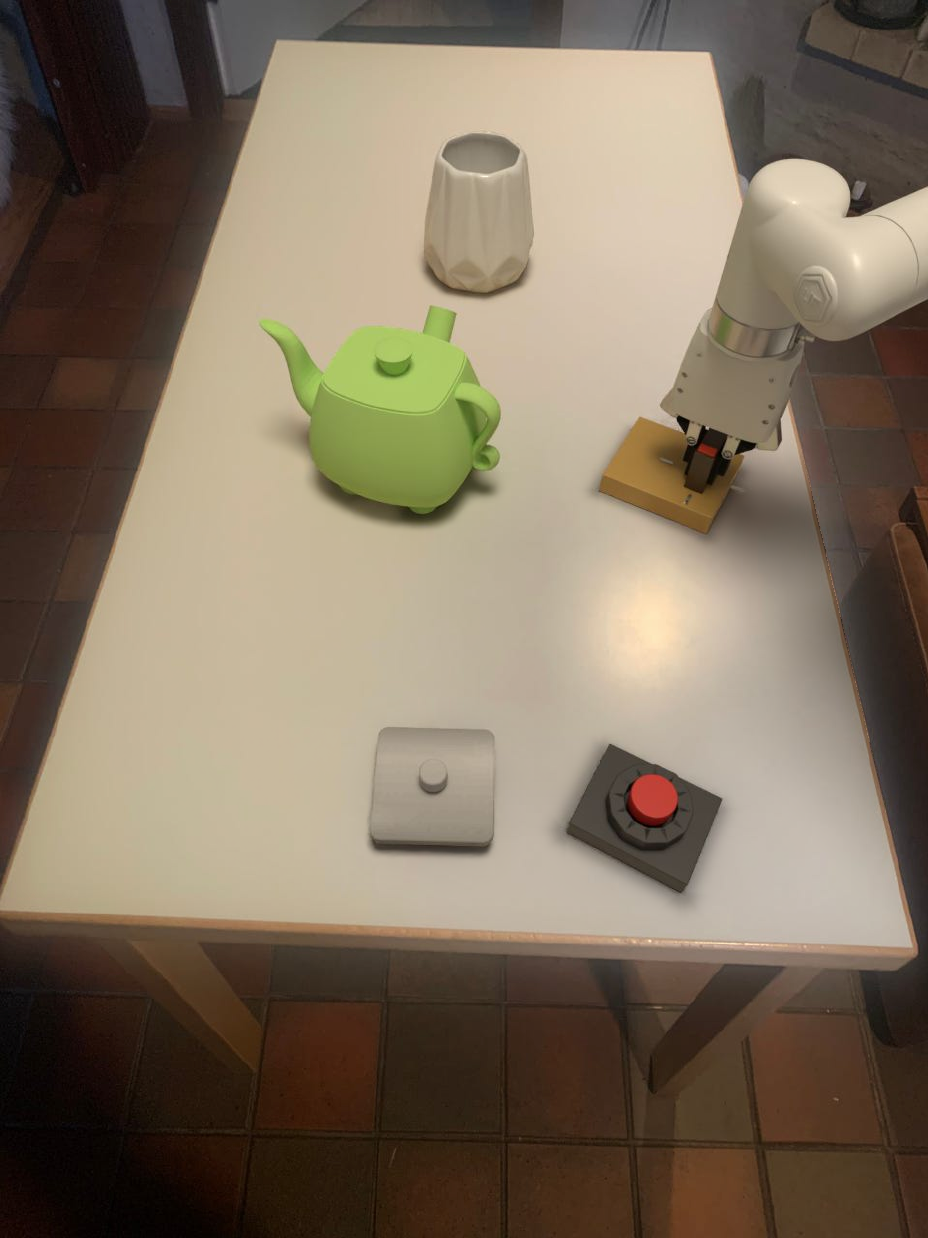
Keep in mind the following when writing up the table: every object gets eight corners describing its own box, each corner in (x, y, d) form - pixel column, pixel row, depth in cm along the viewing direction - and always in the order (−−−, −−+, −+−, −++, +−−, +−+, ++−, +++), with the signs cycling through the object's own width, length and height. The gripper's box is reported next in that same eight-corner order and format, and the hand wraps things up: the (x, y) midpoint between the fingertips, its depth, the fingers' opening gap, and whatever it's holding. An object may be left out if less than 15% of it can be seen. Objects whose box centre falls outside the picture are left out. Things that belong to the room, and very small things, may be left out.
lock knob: (701, 456, 89) (713, 418, 84) (719, 463, 88) (732, 426, 84) (683, 486, 86) (695, 450, 82) (701, 494, 86) (714, 457, 81)
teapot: (535, 410, 96) (547, 287, 83) (472, 549, 85) (474, 433, 72) (335, 359, 101) (317, 236, 87) (250, 485, 89) (215, 365, 76)
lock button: (680, 795, 67) (684, 787, 65) (663, 834, 65) (667, 826, 63) (637, 774, 68) (641, 766, 66) (620, 812, 66) (623, 804, 64)
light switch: (371, 851, 68) (365, 829, 63) (380, 740, 73) (376, 713, 69) (493, 854, 68) (495, 833, 63) (493, 742, 73) (495, 716, 69)
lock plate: (752, 477, 91) (759, 459, 88) (720, 540, 86) (727, 523, 83) (635, 432, 94) (639, 414, 92) (599, 490, 89) (602, 473, 87)
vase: (492, 226, 116) (497, 110, 104) (552, 279, 110) (565, 162, 97) (405, 258, 112) (398, 141, 99) (462, 315, 105) (463, 197, 93)
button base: (716, 808, 70) (729, 789, 67) (681, 893, 66) (693, 878, 63) (605, 753, 73) (613, 733, 69) (566, 832, 69) (571, 814, 65)
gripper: (859, 325, 71) (788, 476, 86) (685, 268, 75) (646, 422, 91) (833, 377, 67) (764, 525, 83) (652, 314, 72) (618, 466, 87)
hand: (703, 470), depth 87 cm, fingers closed on lock knob
